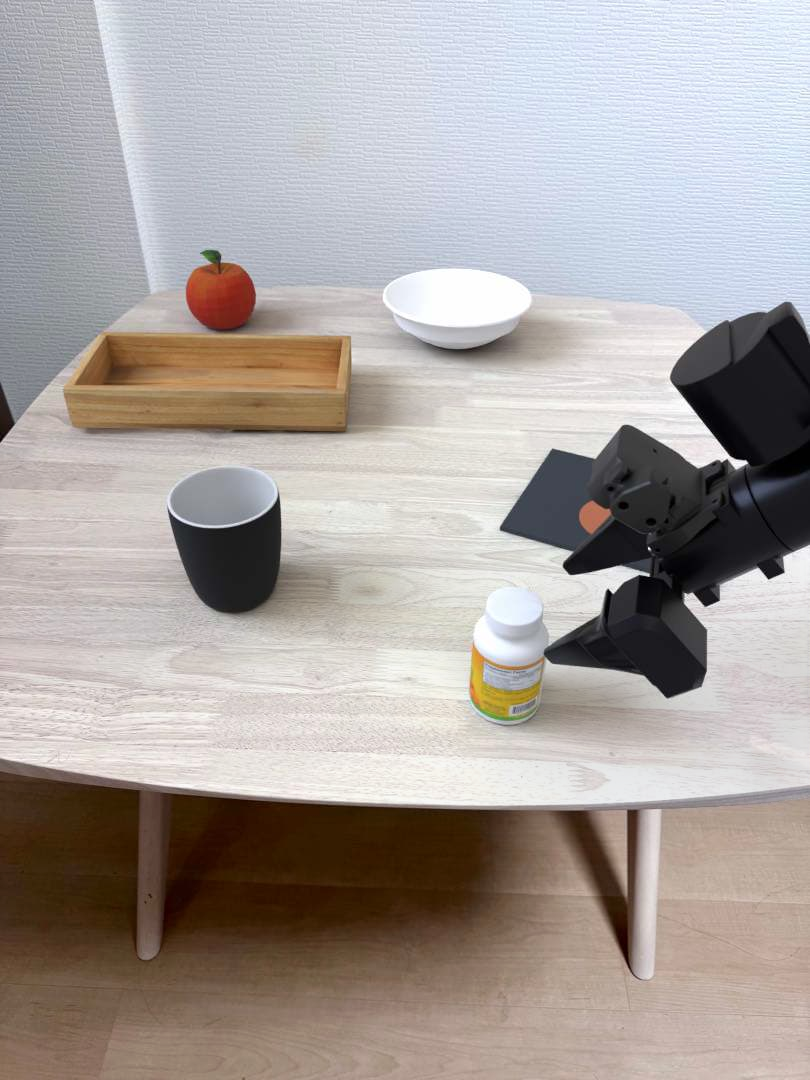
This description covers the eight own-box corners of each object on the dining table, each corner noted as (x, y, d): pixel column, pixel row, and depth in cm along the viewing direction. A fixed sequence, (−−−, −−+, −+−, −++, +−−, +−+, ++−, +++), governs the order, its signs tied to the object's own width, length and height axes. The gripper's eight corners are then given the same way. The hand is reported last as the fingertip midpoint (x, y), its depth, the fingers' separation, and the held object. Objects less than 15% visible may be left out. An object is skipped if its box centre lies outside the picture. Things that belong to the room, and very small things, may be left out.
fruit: (213, 344, 114) (203, 271, 108) (178, 322, 120) (166, 252, 114) (272, 326, 119) (266, 255, 113) (236, 305, 125) (228, 237, 119)
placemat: (739, 498, 86) (741, 493, 86) (711, 591, 75) (713, 586, 74) (551, 451, 93) (552, 447, 93) (499, 530, 82) (500, 525, 81)
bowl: (397, 378, 107) (398, 330, 103) (371, 316, 122) (371, 272, 118) (547, 365, 110) (553, 318, 106) (504, 306, 125) (507, 263, 121)
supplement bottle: (481, 665, 67) (489, 572, 61) (547, 685, 66) (562, 591, 60) (458, 714, 63) (465, 619, 57) (528, 736, 62) (542, 640, 56)
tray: (352, 373, 108) (350, 331, 104) (346, 434, 96) (345, 389, 92) (109, 373, 107) (100, 330, 104) (73, 434, 95) (61, 389, 92)
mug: (309, 588, 75) (301, 493, 68) (227, 640, 69) (210, 542, 63) (226, 531, 81) (212, 440, 75) (145, 574, 76) (123, 480, 70)
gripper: (694, 336, 54) (507, 457, 63) (688, 497, 39) (447, 623, 49) (789, 461, 57) (598, 559, 66) (815, 652, 43) (567, 743, 52)
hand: (557, 610), depth 58 cm, fingers open, 9 cm apart
